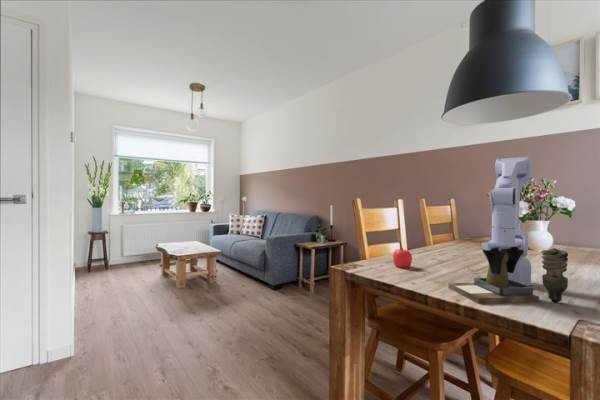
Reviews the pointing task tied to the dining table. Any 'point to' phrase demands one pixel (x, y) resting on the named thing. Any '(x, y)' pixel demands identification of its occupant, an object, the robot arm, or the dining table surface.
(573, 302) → the dining table surface
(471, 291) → the mat
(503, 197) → the robot arm
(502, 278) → the cork
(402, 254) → the apple
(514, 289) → the dark grey tray
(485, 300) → the walnut board
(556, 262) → the light bulb
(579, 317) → the dining table surface
